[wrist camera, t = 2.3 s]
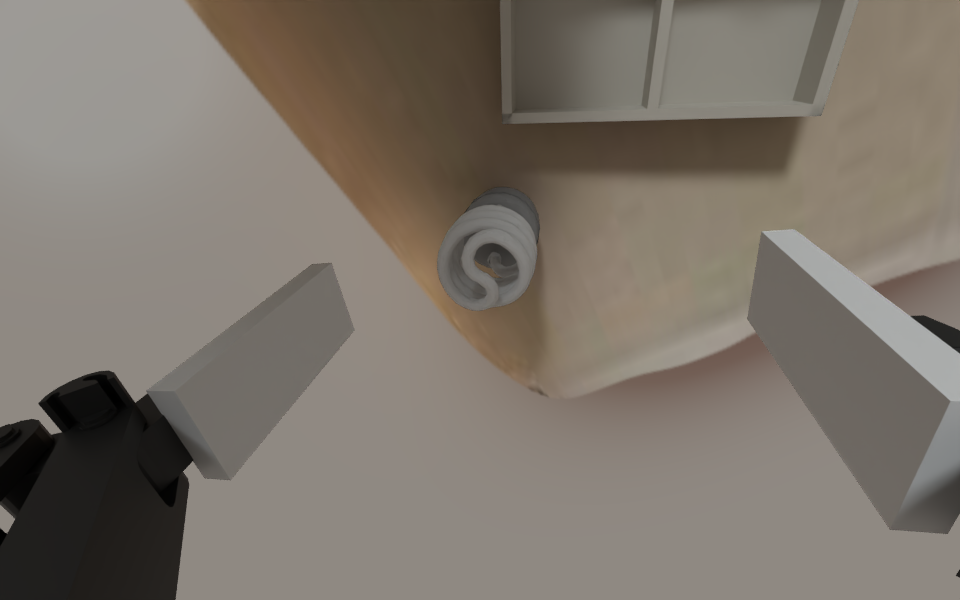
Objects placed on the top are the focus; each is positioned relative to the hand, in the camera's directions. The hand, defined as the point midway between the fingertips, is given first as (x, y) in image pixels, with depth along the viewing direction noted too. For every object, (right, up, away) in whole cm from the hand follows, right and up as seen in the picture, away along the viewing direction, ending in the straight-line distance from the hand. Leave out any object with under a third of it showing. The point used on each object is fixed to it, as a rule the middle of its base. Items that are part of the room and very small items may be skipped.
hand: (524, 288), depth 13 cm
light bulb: (+1, +7, +19) cm, 20 cm away
